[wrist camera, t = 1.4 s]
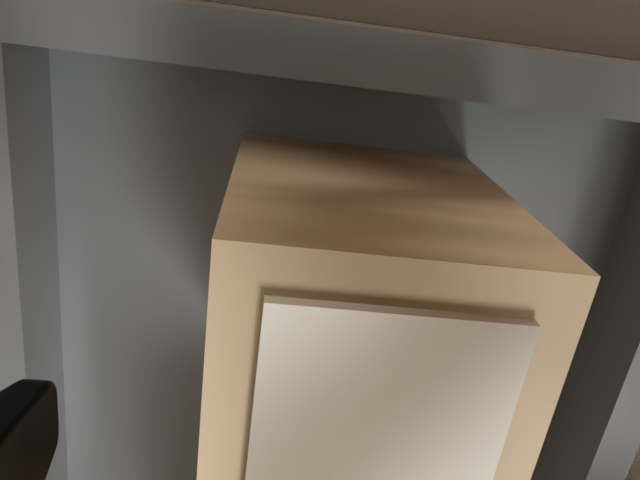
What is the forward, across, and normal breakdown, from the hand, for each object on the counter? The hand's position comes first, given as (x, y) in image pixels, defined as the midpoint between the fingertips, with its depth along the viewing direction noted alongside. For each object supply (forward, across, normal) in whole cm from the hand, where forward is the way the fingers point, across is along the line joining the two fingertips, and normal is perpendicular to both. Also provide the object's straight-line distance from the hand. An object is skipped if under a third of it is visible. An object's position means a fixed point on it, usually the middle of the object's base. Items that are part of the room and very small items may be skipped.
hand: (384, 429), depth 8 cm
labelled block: (+6, 0, 0) cm, 6 cm away
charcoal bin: (+6, 0, +4) cm, 8 cm away
